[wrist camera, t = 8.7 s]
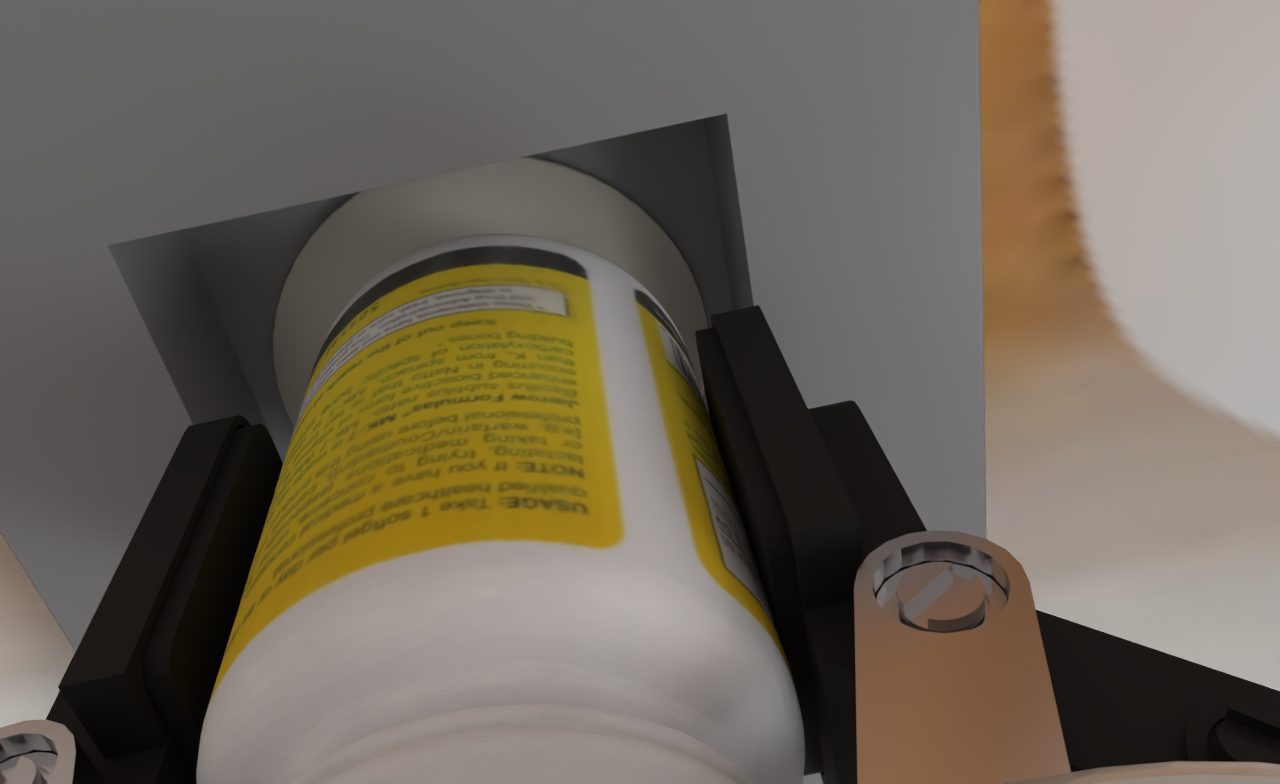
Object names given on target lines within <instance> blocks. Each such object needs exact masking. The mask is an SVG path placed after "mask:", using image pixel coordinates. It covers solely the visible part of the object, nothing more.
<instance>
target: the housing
mask: <svg viewBox="0 0 1280 784" xmlns="http://www.w3.org/2000/svg"><path fill="white" fill-rule="evenodd" d="M493 233H509V234H521V235H530V236H536V237H541V238H546V239H551V240H555V241H559V242H562V243H566V244H569V245H572V246H575V247H577V248H580V249H583V250H585V251H588V252H591V253H593V254H595V255H597V256H599V257H601V258H603V259H605V260H607V261H609V262H611V263H612V264H614V265H616V266H618V267H619V268H621V269H622V270H624V271H625V272H627V273H628V274H629V275H631V276H632V277H633V278H634V279H636V280H637V281H638V282H639V283H640V284H641V285H643V286H644V287H645V288H646V289H647V290H648V291H649V292H650V293H651V294H652V295H653V296H654V297H655V298H656V299H657V301H658V302H659V303H660V304H661V306H662V307H663V308H664V309H665V311H666V312H667V314H668V315H669V316H670V318H671V319H672V321H673V323H674V324H675V326H676V328H677V330H678V332H679V334H680V336H681V338H682V340H683V342H684V344H685V346H686V349H687V351H688V354H689V358H690V361H691V363H692V365H693V368H694V371H695V374H696V377H697V379H698V382H699V386H700V391H701V394H702V397H703V400H704V402H705V405H706V409H707V412H708V406H707V400H706V394H705V389H704V383H703V377H702V372H701V366H700V360H699V354H698V349H697V343H696V336H695V331H699V330H704V329H708V328H712V325H711V315H714V314H719V313H723V312H728V311H733V310H737V309H742V308H747V307H752V306H756V305H759V306H760V308H761V310H762V312H763V314H764V316H765V319H766V321H767V323H768V325H769V327H770V329H771V331H772V333H773V336H774V338H775V340H776V342H777V344H778V346H779V348H780V350H781V353H782V355H783V357H784V359H785V361H786V363H787V365H788V368H789V370H790V372H791V374H792V376H793V378H794V380H795V382H796V385H797V387H798V389H799V391H800V393H801V395H802V397H803V399H804V402H805V404H806V406H807V408H808V409H811V408H816V407H820V406H825V405H830V404H834V403H839V402H844V401H849V400H852V401H855V402H856V404H857V405H858V407H859V408H860V410H861V412H862V413H863V415H864V417H865V419H866V421H867V422H868V424H869V426H870V428H871V430H872V431H873V433H874V435H875V437H876V439H877V441H878V442H879V444H880V446H881V448H882V450H883V451H884V453H885V455H886V457H887V459H888V460H889V462H890V464H891V466H892V468H893V470H894V471H895V473H896V475H897V477H898V479H899V480H900V482H901V484H902V486H903V488H904V489H905V491H906V493H907V495H908V497H909V499H910V500H911V502H912V504H913V506H914V508H915V509H916V511H917V513H918V515H919V517H920V518H921V520H922V522H923V524H924V526H925V528H926V529H927V531H931V530H941V531H958V532H963V533H967V534H970V535H974V536H978V537H982V538H985V539H986V481H985V408H984V336H983V264H982V191H981V119H980V47H979V0H0V533H1V534H2V536H3V537H4V539H5V540H6V542H7V544H8V545H9V547H10V548H11V550H12V552H13V553H14V555H15V556H16V558H17V559H18V561H19V563H20V564H21V566H22V567H23V569H24V571H25V572H26V574H27V575H28V577H29V578H30V580H31V582H32V583H33V585H34V586H35V588H36V590H37V591H38V593H39V594H40V596H41V597H42V599H43V601H44V602H45V604H46V605H47V607H48V609H49V610H50V612H51V613H52V615H53V616H54V618H55V620H56V621H57V623H58V624H59V626H60V628H61V629H62V631H63V632H64V634H65V635H66V637H67V639H68V640H69V642H70V643H71V645H72V647H73V648H74V650H75V651H76V650H77V648H78V646H79V644H80V642H81V640H82V638H83V636H84V634H85V632H86V630H87V628H88V626H89V624H90V622H91V620H92V618H93V616H94V614H95V612H96V610H97V608H98V606H99V604H100V602H101V600H102V598H103V596H104V594H105V592H106V590H107V588H108V586H109V584H110V582H111V580H112V578H113V575H114V573H115V571H116V569H117V567H118V565H119V563H120V561H121V559H122V557H123V555H124V553H125V551H126V549H127V547H128V545H129V543H130V541H131V539H132V537H133V535H134V533H135V531H136V529H137V527H138V525H139V523H140V521H141V519H142V517H143V515H144V513H145V511H146V509H147V507H148V505H149V503H150V501H151V499H152V497H153V495H154V493H155V491H156V489H157V487H158V484H159V482H160V480H161V478H162V476H163V474H164V472H165V470H166V468H167V466H168V464H169V462H170V460H171V458H172V456H173V454H174V452H175V450H176V448H177V446H178V444H179V442H180V440H181V438H182V436H183V434H184V432H185V430H186V429H187V428H188V426H191V425H195V424H200V423H205V422H209V421H214V420H219V419H223V418H228V417H233V416H238V415H241V416H243V417H245V418H246V420H247V421H248V422H249V423H250V425H256V424H260V423H261V424H262V425H264V426H265V427H266V428H267V430H268V431H269V433H270V435H271V437H272V440H273V442H274V444H275V447H276V449H277V451H278V454H279V456H280V458H281V460H282V463H284V460H285V457H286V454H287V450H288V447H289V444H290V442H291V438H292V435H293V432H294V428H295V424H296V421H297V418H298V416H299V412H300V409H301V406H302V403H303V400H304V397H305V394H306V391H307V387H308V384H309V380H310V377H311V373H312V370H313V367H314V364H315V361H316V359H317V356H318V354H319V352H320V350H321V347H322V345H323V343H324V341H325V338H326V336H327V334H328V332H329V330H330V328H331V327H332V325H333V323H334V322H335V320H336V319H337V317H338V316H339V314H340V313H341V312H342V310H343V309H344V308H345V306H346V305H347V304H348V303H349V302H350V300H351V299H352V298H353V297H354V296H355V295H356V294H357V293H358V292H359V291H360V290H361V289H362V288H363V287H364V286H365V285H366V284H367V283H368V282H369V281H370V280H371V279H372V278H373V277H375V276H376V275H377V274H379V273H380V272H382V271H383V270H384V269H386V268H387V267H389V266H390V265H392V264H393V263H395V262H397V261H398V260H400V259H402V258H404V257H405V256H407V255H409V254H411V253H413V252H415V251H418V250H421V249H423V248H426V247H428V246H431V245H433V244H436V243H439V242H443V241H446V240H450V239H453V238H458V237H464V236H469V235H478V234H493ZM708 416H709V412H708ZM709 419H710V417H709ZM803 784H823V781H822V778H821V775H820V773H816V774H811V775H806V776H803Z"/></svg>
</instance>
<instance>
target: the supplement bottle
mask: <svg viewBox="0 0 1280 784" xmlns="http://www.w3.org/2000/svg"><path fill="white" fill-rule="evenodd" d="M804 765H805V739H804V727H803V721H802V716H801V711H800V705H799V701H798V696H797V692H796V688H795V684H794V680H793V677H792V673H791V669H790V665H789V663H788V660H787V658H786V655H785V652H784V650H783V647H782V645H781V642H780V637H779V634H778V631H777V628H776V626H775V622H774V619H773V616H772V612H771V609H770V606H769V603H768V599H767V596H766V593H765V590H764V587H763V584H762V581H761V578H760V574H759V571H758V568H757V565H756V562H755V559H754V556H753V552H752V549H751V547H750V543H749V540H748V537H747V533H746V530H745V527H744V524H743V520H742V517H741V514H740V511H739V508H738V505H737V502H736V500H735V497H734V494H733V490H732V487H731V483H730V480H729V476H728V473H727V471H726V468H725V465H724V462H723V459H722V456H721V453H720V450H719V446H718V443H717V440H716V436H715V433H714V430H713V427H712V424H711V422H710V419H709V416H708V412H707V409H706V405H705V402H704V400H703V397H702V394H701V391H700V386H699V382H698V379H697V377H696V374H695V371H694V368H693V365H692V363H691V361H690V358H689V354H688V351H687V349H686V346H685V344H684V342H683V340H682V338H681V336H680V334H679V332H678V330H677V328H676V326H675V324H674V323H673V321H672V319H671V318H670V316H669V315H668V314H667V312H666V311H665V309H664V308H663V307H662V306H661V304H660V303H659V302H658V301H657V299H656V298H655V297H654V296H653V295H652V294H651V293H650V292H649V291H648V290H647V289H646V288H645V287H644V286H643V285H641V284H640V283H639V282H638V281H637V280H636V279H634V278H633V277H632V276H631V275H629V274H628V273H627V272H625V271H624V270H622V269H621V268H619V267H618V266H616V265H614V264H612V263H611V262H609V261H607V260H605V259H603V258H601V257H599V256H597V255H595V254H593V253H591V252H588V251H585V250H583V249H580V248H577V247H575V246H572V245H569V244H566V243H562V242H559V241H555V240H551V239H546V238H541V237H536V236H530V235H521V234H509V233H493V234H478V235H469V236H464V237H458V238H453V239H450V240H446V241H443V242H439V243H436V244H433V245H431V246H428V247H426V248H423V249H421V250H418V251H415V252H413V253H411V254H409V255H407V256H405V257H404V258H402V259H400V260H398V261H397V262H395V263H393V264H392V265H390V266H389V267H387V268H386V269H384V270H383V271H382V272H380V273H379V274H377V275H376V276H375V277H373V278H372V279H371V280H370V281H369V282H368V283H367V284H366V285H365V286H364V287H363V288H362V289H361V290H360V291H359V292H358V293H357V294H356V295H355V296H354V297H353V298H352V299H351V300H350V302H349V303H348V304H347V305H346V306H345V308H344V309H343V310H342V312H341V313H340V314H339V316H338V317H337V319H336V320H335V322H334V323H333V325H332V327H331V328H330V330H329V332H328V334H327V336H326V338H325V341H324V343H323V345H322V347H321V350H320V352H319V354H318V356H317V359H316V361H315V364H314V367H313V370H312V373H311V377H310V380H309V384H308V387H307V391H306V394H305V397H304V400H303V403H302V406H301V409H300V412H299V416H298V418H297V421H296V424H295V428H294V432H293V435H292V438H291V442H290V444H289V447H288V450H287V454H286V457H285V460H284V463H283V466H282V469H281V473H280V476H279V480H278V483H277V485H276V489H275V493H274V497H273V500H272V503H271V506H270V509H269V512H268V515H267V518H266V522H265V525H264V528H263V531H262V534H261V538H260V541H259V544H258V547H257V550H256V553H255V556H254V559H253V562H252V566H251V569H250V572H249V575H248V579H247V582H246V585H245V588H244V592H243V595H242V598H241V602H240V605H239V608H238V612H237V615H236V618H235V621H234V624H233V628H232V631H231V634H230V637H229V640H228V644H227V647H226V650H225V653H224V657H223V660H222V663H221V666H220V669H219V673H218V676H217V679H216V682H215V685H214V689H213V692H212V695H211V699H210V702H209V705H208V708H207V712H206V715H205V718H204V722H203V727H202V732H201V737H200V745H199V753H198V761H197V769H196V784H803V775H804Z"/></svg>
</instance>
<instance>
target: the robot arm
mask: <svg viewBox="0 0 1280 784" xmlns="http://www.w3.org/2000/svg"><path fill="white" fill-rule="evenodd" d="M711 325H712V328H708V329H704V330H699V331H695V336H696V343H697V349H698V354H699V360H700V366H701V372H702V377H703V383H704V389H705V394H706V400H707V406H708V412H709V417H710V422H711V424H712V427H713V430H714V433H715V436H716V440H717V443H718V446H719V450H720V453H721V456H722V459H723V462H724V465H725V468H726V471H727V473H728V476H729V480H730V483H731V487H732V490H733V494H734V497H735V500H736V502H737V505H738V508H739V511H740V514H741V517H742V520H743V524H744V527H745V530H746V533H747V537H748V540H749V543H750V547H751V549H752V552H753V556H754V559H755V562H756V565H757V568H758V571H759V574H760V578H761V581H762V584H763V587H764V590H765V593H766V596H767V599H768V603H769V606H770V609H771V612H772V616H773V619H774V622H775V626H776V628H777V631H778V634H779V637H780V642H781V645H782V647H783V650H784V652H785V655H786V658H787V660H788V663H789V665H790V669H791V673H792V677H793V680H794V684H795V688H796V692H797V696H798V701H799V705H800V711H801V716H802V721H803V727H804V739H805V765H804V775H803V776H806V775H811V774H816V773H820V775H821V778H822V781H823V784H1280V691H1277V690H1274V689H1271V688H1268V687H1265V686H1262V685H1259V684H1256V683H1253V682H1250V681H1247V680H1244V679H1241V678H1238V677H1235V676H1232V675H1229V674H1226V673H1223V672H1220V671H1217V670H1214V669H1211V668H1208V667H1205V666H1202V665H1199V664H1196V663H1193V662H1190V661H1187V660H1184V659H1181V658H1178V657H1175V656H1172V655H1169V654H1166V653H1163V652H1160V651H1157V650H1154V649H1152V648H1149V647H1146V646H1143V645H1140V644H1137V643H1134V642H1131V641H1128V640H1125V639H1122V638H1119V637H1116V636H1113V635H1110V634H1107V633H1104V632H1101V631H1098V630H1095V629H1092V628H1089V627H1086V626H1083V625H1080V624H1077V623H1074V622H1071V621H1068V620H1065V619H1062V618H1059V617H1056V616H1053V615H1050V614H1047V613H1044V612H1041V611H1038V610H1035V605H1034V601H1033V596H1032V592H1031V587H1030V582H1029V580H1028V578H1027V576H1026V574H1025V572H1024V570H1023V567H1022V565H1021V564H1020V563H1019V562H1018V561H1017V560H1016V559H1015V558H1014V557H1013V556H1012V555H1011V554H1010V553H1009V552H1008V551H1007V550H1006V549H1004V548H1002V547H1000V546H998V545H996V544H994V543H992V542H991V541H989V540H987V539H985V538H982V537H978V536H974V535H970V534H967V533H963V532H958V531H941V530H931V531H927V529H926V528H925V526H924V524H923V522H922V520H921V518H920V517H919V515H918V513H917V511H916V509H915V508H914V506H913V504H912V502H911V500H910V499H909V497H908V495H907V493H906V491H905V489H904V488H903V486H902V484H901V482H900V480H899V479H898V477H897V475H896V473H895V471H894V470H893V468H892V466H891V464H890V462H889V460H888V459H887V457H886V455H885V453H884V451H883V450H882V448H881V446H880V444H879V442H878V441H877V439H876V437H875V435H874V433H873V431H872V430H871V428H870V426H869V424H868V422H867V421H866V419H865V417H864V415H863V413H862V412H861V410H860V408H859V407H858V405H857V404H856V402H855V401H852V400H849V401H844V402H839V403H834V404H830V405H825V406H820V407H816V408H811V409H808V408H807V406H806V404H805V402H804V399H803V397H802V395H801V393H800V391H799V389H798V387H797V385H796V382H795V380H794V378H793V376H792V374H791V372H790V370H789V368H788V365H787V363H786V361H785V359H784V357H783V355H782V353H781V350H780V348H779V346H778V344H777V342H776V340H775V338H774V336H773V333H772V331H771V329H770V327H769V325H768V323H767V321H766V319H765V316H764V314H763V312H762V310H761V308H760V306H759V305H756V306H752V307H747V308H742V309H737V310H733V311H728V312H723V313H719V314H714V315H711ZM282 466H283V463H282V460H281V458H280V456H279V454H278V451H277V449H276V447H275V444H274V442H273V440H272V437H271V435H270V433H269V431H268V430H267V428H266V427H265V426H264V425H262V424H261V423H260V424H256V425H250V423H249V422H248V421H247V420H246V418H245V417H243V416H241V415H238V416H233V417H228V418H223V419H219V420H214V421H209V422H205V423H200V424H195V425H191V426H188V428H187V429H186V430H185V432H184V434H183V436H182V438H181V440H180V442H179V444H178V446H177V448H176V450H175V452H174V454H173V456H172V458H171V460H170V462H169V464H168V466H167V468H166V470H165V472H164V474H163V476H162V478H161V480H160V482H159V484H158V487H157V489H156V491H155V493H154V495H153V497H152V499H151V501H150V503H149V505H148V507H147V509H146V511H145V513H144V515H143V517H142V519H141V521H140V523H139V525H138V527H137V529H136V531H135V533H134V535H133V537H132V539H131V541H130V543H129V545H128V547H127V549H126V551H125V553H124V555H123V557H122V559H121V561H120V563H119V565H118V567H117V569H116V571H115V573H114V575H113V578H112V580H111V582H110V584H109V586H108V588H107V590H106V592H105V594H104V596H103V598H102V600H101V602H100V604H99V606H98V608H97V610H96V612H95V614H94V616H93V618H92V620H91V622H90V624H89V626H88V628H87V630H86V632H85V634H84V636H83V638H82V640H81V642H80V644H79V646H78V648H77V650H76V652H75V654H74V656H73V658H72V660H71V662H70V664H69V666H68V669H67V671H66V673H65V675H64V677H63V679H62V681H61V683H60V685H59V687H58V688H59V689H60V692H59V694H58V696H57V698H56V700H55V702H54V704H53V706H52V708H51V710H50V712H49V714H48V716H47V718H46V720H31V721H23V722H19V723H16V724H12V725H9V726H5V727H2V728H0V784H196V769H197V761H198V753H199V745H200V737H201V732H202V727H203V722H204V718H205V715H206V712H207V708H208V705H209V702H210V699H211V695H212V692H213V689H214V685H215V682H216V679H217V676H218V673H219V669H220V666H221V663H222V660H223V657H224V653H225V650H226V647H227V644H228V640H229V637H230V634H231V631H232V628H233V624H234V621H235V618H236V615H237V612H238V608H239V605H240V602H241V598H242V595H243V592H244V588H245V585H246V582H247V579H248V575H249V572H250V569H251V566H252V562H253V559H254V556H255V553H256V550H257V547H258V544H259V541H260V538H261V534H262V531H263V528H264V525H265V522H266V518H267V515H268V512H269V509H270V506H271V503H272V500H273V497H274V493H275V489H276V485H277V483H278V480H279V476H280V473H281V469H282Z"/></svg>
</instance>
